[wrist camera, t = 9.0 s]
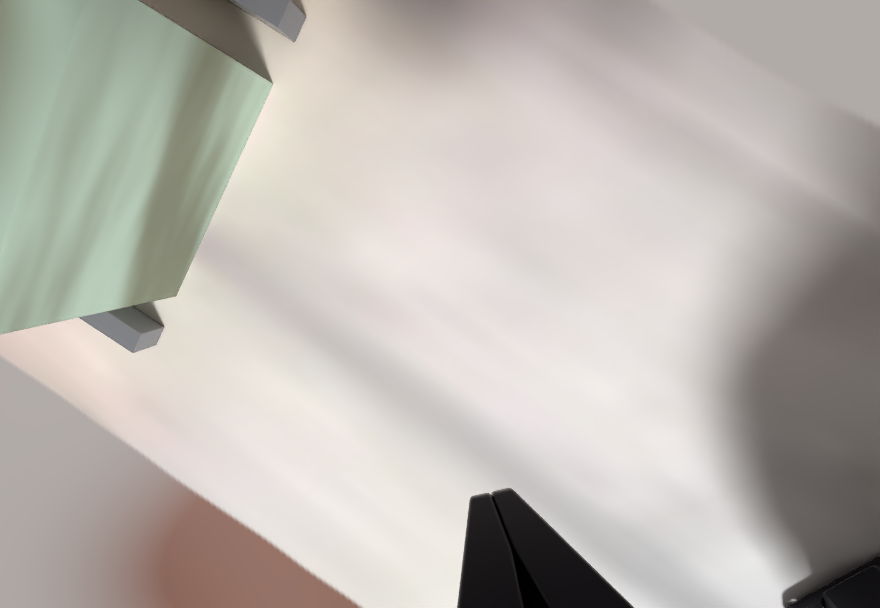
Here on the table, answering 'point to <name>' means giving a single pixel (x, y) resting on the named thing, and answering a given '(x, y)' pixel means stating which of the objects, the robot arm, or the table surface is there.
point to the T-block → (109, 154)
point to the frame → (129, 324)
